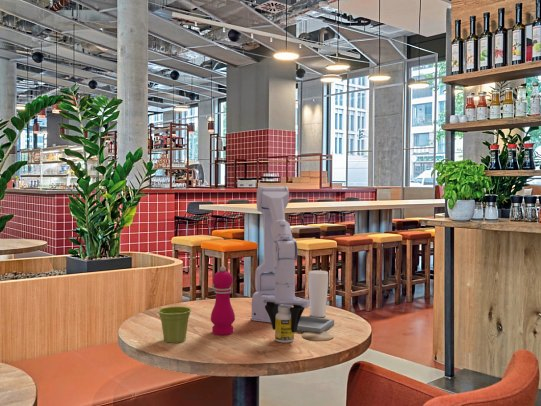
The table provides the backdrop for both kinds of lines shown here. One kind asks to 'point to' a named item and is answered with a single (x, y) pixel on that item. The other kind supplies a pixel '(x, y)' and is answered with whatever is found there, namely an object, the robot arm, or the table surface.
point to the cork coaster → (318, 336)
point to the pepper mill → (222, 304)
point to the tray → (314, 324)
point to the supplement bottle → (283, 324)
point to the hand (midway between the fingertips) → (284, 330)
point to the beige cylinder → (318, 292)
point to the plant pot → (174, 323)
